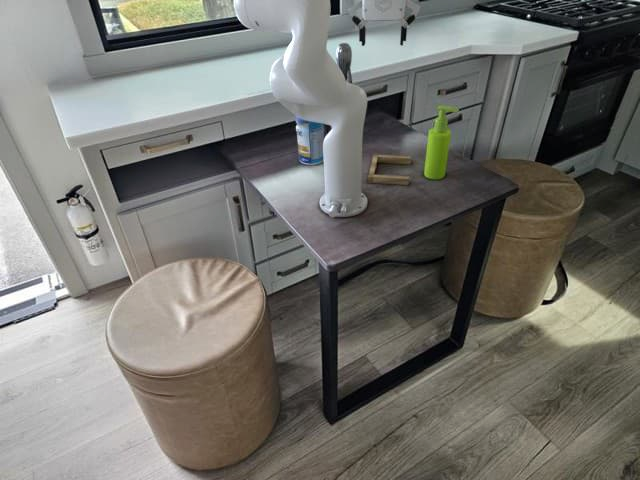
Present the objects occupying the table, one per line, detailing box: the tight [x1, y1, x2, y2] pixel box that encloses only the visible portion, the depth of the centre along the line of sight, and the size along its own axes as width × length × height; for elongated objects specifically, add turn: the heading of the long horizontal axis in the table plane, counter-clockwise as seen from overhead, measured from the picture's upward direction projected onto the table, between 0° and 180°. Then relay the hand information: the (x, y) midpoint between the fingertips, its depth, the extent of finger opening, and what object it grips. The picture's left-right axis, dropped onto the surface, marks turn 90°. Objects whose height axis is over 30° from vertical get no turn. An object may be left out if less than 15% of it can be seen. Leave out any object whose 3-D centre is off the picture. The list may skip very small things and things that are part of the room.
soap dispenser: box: [423, 105, 460, 180], centre depth 118 cm, size 6×7×20 cm
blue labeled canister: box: [295, 116, 325, 166], centre depth 129 cm, size 8×8×20 cm
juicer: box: [325, 42, 353, 136], centre depth 138 cm, size 10×11×30 cm
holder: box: [367, 153, 412, 186], centre depth 126 cm, size 14×11×2 cm
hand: (382, 44), depth 109 cm, fingers open, 9 cm apart
